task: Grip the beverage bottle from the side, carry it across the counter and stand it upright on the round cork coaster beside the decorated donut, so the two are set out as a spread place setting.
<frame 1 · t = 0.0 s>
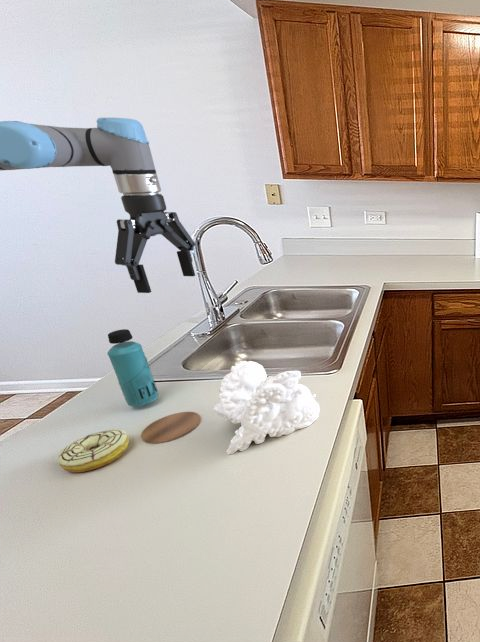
hand: (168, 283, 97), 29 cm above the table, tool pointing down, fingers open, 13 cm apart
beverage bottle: (145, 405, 99), on the table
cork coaster: (172, 427, 91), on the table
decorated donut: (98, 457, 82), on the table
white ornate sculpture: (270, 430, 90), on the table
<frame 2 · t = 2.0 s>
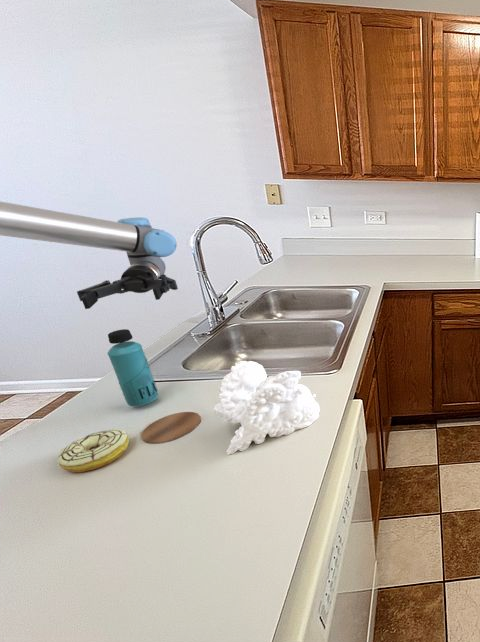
hand: (121, 299, 97), 25 cm above the table, tool horizontal, fingers open, 13 cm apart
nothing on the table moved.
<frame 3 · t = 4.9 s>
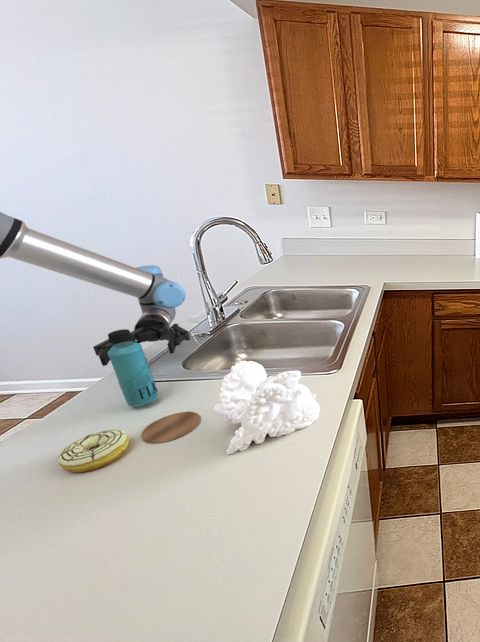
hand: (137, 354, 100), 11 cm above the table, tool horizontal, fingers open, 13 cm apart
nothing on the table moved.
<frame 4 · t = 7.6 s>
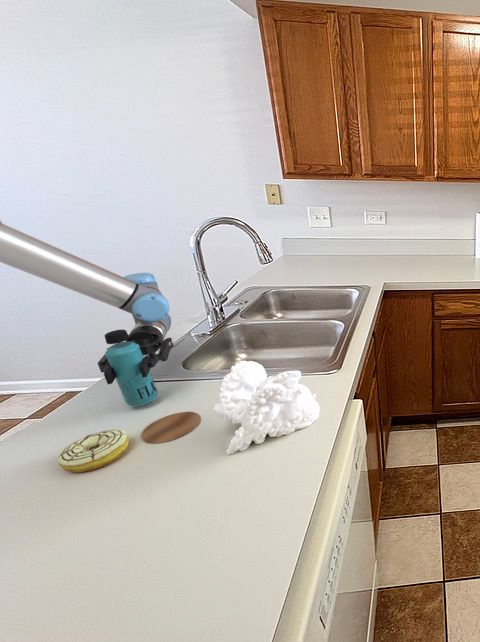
hand: (125, 375, 91), 11 cm above the table, tool horizontal, fingers closed on beverage bottle, 6 cm apart
beverage bottle: (145, 404, 99), on the table, touching gripper
everything else where it was.
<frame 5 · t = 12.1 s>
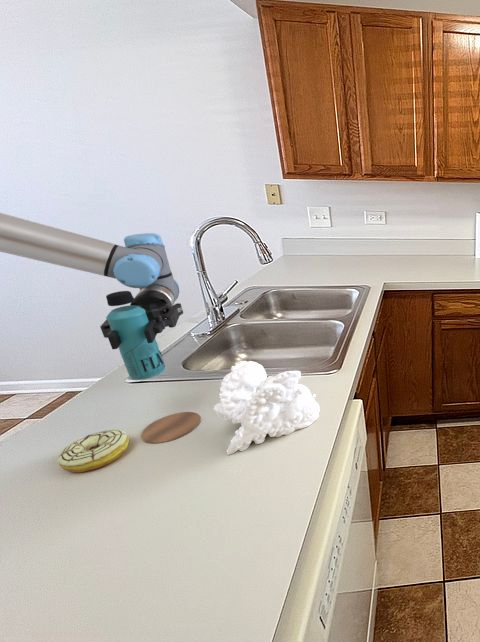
hand: (130, 339, 79), 24 cm above the table, tool horizontal, fingers closed on beverage bottle, 5 cm apart
beverage bottle: (150, 379, 87), point 12 cm above the table, touching gripper
everything else where it was.
when the fingers open (12 cm above the table, at t = 15.7 s): beverage bottle stays where it is, resting on cork coaster.
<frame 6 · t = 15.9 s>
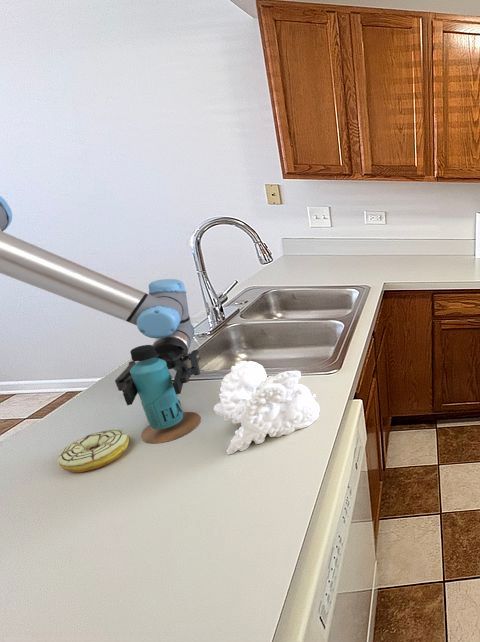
hand: (152, 393, 82), 12 cm above the table, tool horizontal, fingers open, 7 cm apart
beverage bottle: (169, 427, 90), resting on cork coaster
everything else where it was.
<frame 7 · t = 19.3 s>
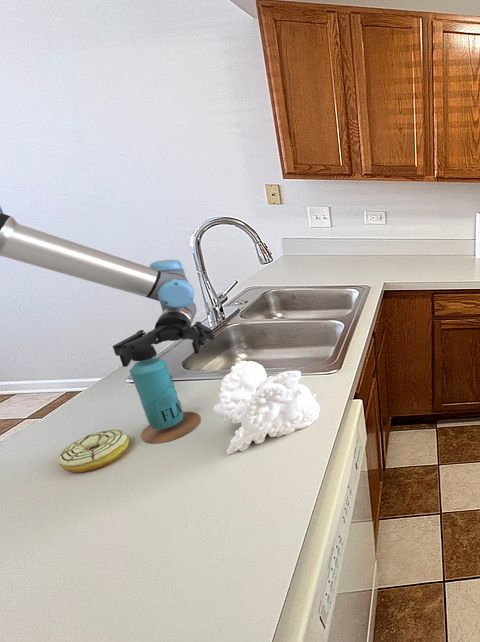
hand: (160, 354, 93), 14 cm above the table, tool horizontal, fingers open, 13 cm apart
nothing on the table moved.
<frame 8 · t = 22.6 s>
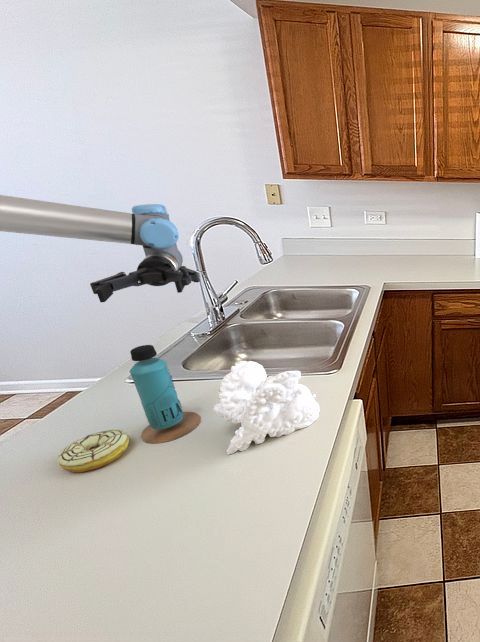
hand: (140, 291, 87), 30 cm above the table, tool horizontal, fingers open, 13 cm apart
nothing on the table moved.
at the end: beverage bottle 0.6 cm from the target spot, resting on cork coaster; beverage bottle tilted 0°; the gripper is holding nothing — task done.
